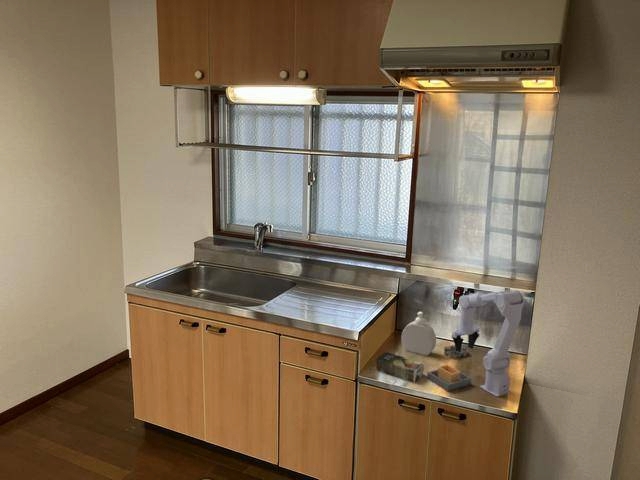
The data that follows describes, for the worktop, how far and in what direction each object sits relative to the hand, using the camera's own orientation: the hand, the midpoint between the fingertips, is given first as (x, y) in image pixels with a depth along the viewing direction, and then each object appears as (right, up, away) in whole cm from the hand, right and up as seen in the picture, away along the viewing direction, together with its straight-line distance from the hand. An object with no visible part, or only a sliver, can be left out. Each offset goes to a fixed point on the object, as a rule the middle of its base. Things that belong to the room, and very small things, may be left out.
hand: (464, 349), depth 248 cm
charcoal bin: (-9, -12, -10) cm, 18 cm away
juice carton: (-29, -10, -2) cm, 31 cm away
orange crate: (-9, -11, -10) cm, 18 cm away
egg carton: (0, -6, +17) cm, 18 cm away
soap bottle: (-17, -5, +19) cm, 27 cm away
